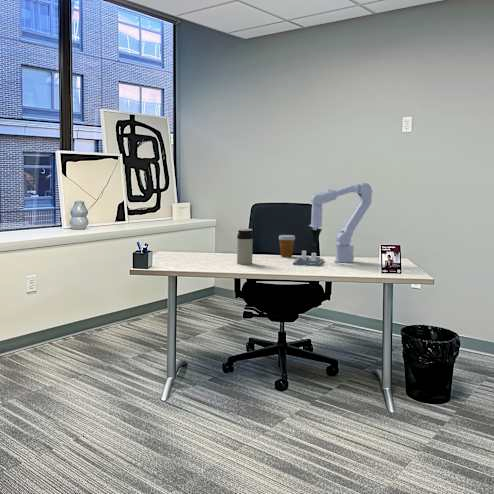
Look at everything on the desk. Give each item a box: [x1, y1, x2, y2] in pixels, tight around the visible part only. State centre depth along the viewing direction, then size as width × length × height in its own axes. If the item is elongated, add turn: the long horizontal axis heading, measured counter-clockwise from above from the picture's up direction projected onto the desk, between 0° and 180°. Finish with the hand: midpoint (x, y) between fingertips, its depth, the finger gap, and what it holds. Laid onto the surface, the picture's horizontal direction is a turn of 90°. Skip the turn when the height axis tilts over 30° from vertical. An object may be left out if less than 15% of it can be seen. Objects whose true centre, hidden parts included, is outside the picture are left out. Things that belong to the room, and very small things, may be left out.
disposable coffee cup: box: [278, 234, 296, 258], centre depth 319 cm, size 10×10×12 cm
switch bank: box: [292, 255, 325, 267], centre depth 297 cm, size 14×18×2 cm
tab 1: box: [301, 250, 308, 260], centre depth 301 cm, size 2×4×4 cm, turn 167°
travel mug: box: [236, 228, 254, 266], centre depth 292 cm, size 8×8×18 cm
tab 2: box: [310, 252, 317, 261], centre depth 293 cm, size 2×4×4 cm, turn 167°
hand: (315, 242), depth 302 cm, fingers closed
